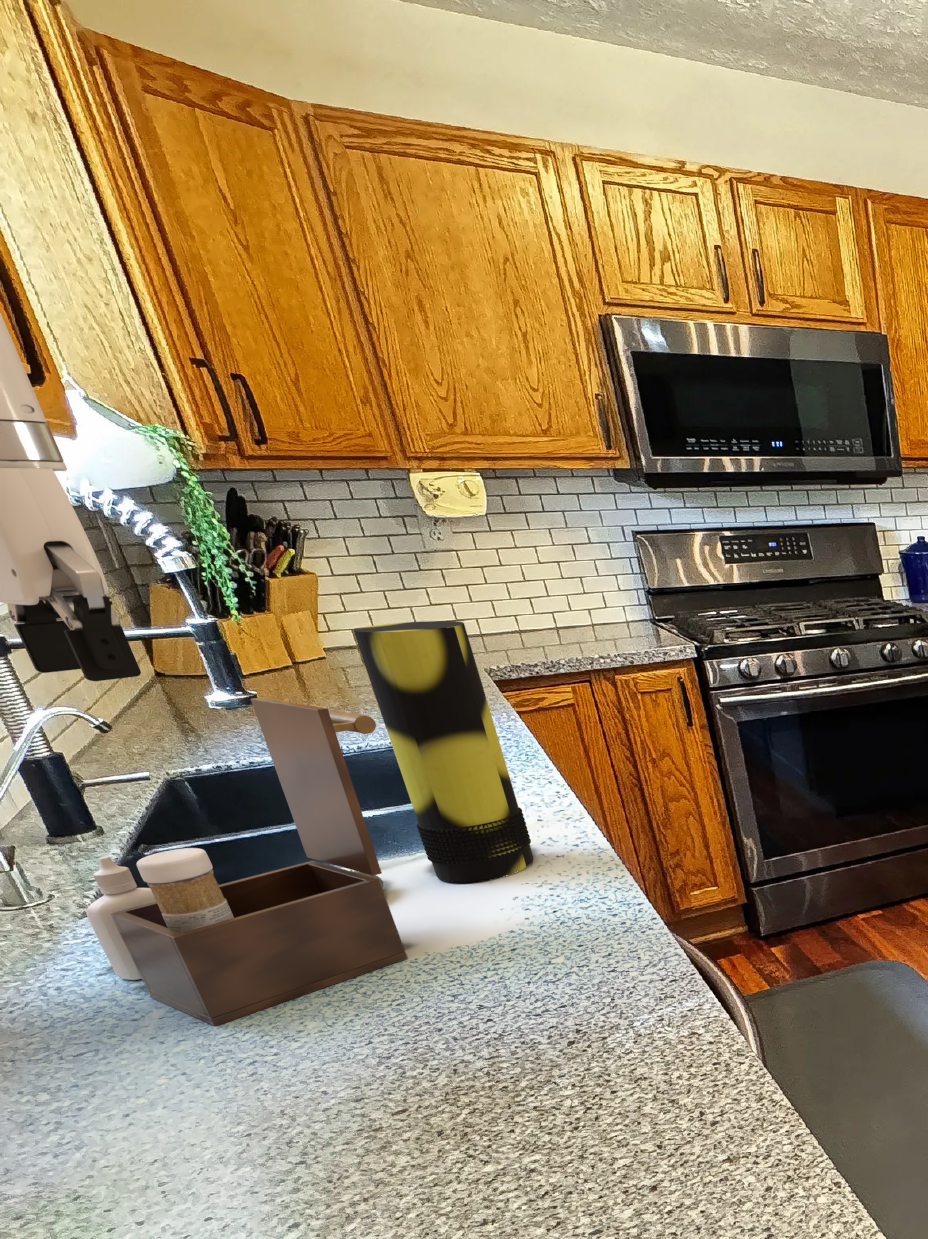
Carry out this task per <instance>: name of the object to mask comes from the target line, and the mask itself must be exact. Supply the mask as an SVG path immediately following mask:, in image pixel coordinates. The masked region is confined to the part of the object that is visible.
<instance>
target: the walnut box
mask: <svg viewBox="0 0 928 1239" xmlns="http://www.w3.org/2000/svg"><path fill="white" fill-rule="evenodd" d="M352 871H353V870H352ZM352 871H351V870H349V869H346V868H342V867H339V866H335V865H331V864H328V863H324V862H321V861H317V860H309V861H306V862H302V863H298V864H294V865H291V866H290V865H289V866H286V867H283V868H278V869H274V870H270V871H267V872H263V873H260V874H256V875H252V876H248V877H244V878H240V879H236V880H233V881H229V882H225V883H221V884H218V886H219V888H220V890H221V892H222V894H223V897H224V898H225V899H226V901H227V903H228V905H229V907H230V910H231V912H232V914H233V916H234V918H233V919H229V920H226V921H222V922H219V923H215V924H212V925H208V926H205V927H201V928H198V929H194V930H191V931H187V932H184V933H179V932H177V931H174V930H171V929H169V928H168V927H167V925H166V923H165V920H164V918H163V916H162V912H161V911H160V908H159V906H158V904H157V902H152V903H148V904H144V905H140V906H137V907H133V908H129V909H125V910H121V911H117V912H114V913H110V914H111V917H112V919H113V921H114V923H115V925H116V927H117V929H118V931H119V933H120V935H121V937H122V939H123V941H124V943H125V945H126V947H127V949H128V951H129V953H130V955H131V957H132V959H133V961H134V963H135V965H136V968H137V970H138V972H139V974H140V976H141V978H142V979H141V981H142V982H143V985H144V986H145V988H146V990H147V991H148V994H149V996H150V998H151V999H153V1000H156V1001H158V1002H160V1003H162V1004H164V1005H166V1006H169V1007H171V1008H173V1009H175V1010H178V1011H180V1012H182V1013H184V1014H187V1015H189V1016H192V1017H194V1018H196V1019H198V1020H200V1021H203V1022H204V1023H206V1024H209V1025H211V1026H214V1027H217V1026H219V1025H222V1024H223V1025H224V1024H225V1023H228V1022H231V1021H234V1020H237V1019H239V1018H243V1017H246V1016H248V1015H252V1014H253V1013H256V1012H257V1013H258V1012H260V1011H262V1010H265V1009H269V1008H270V1007H273V1006H276V1005H279V1004H282V1003H285V1002H288V1001H291V1000H293V999H296V998H299V997H302V996H306V995H308V994H311V993H313V992H316V991H320V990H322V989H325V988H327V987H331V986H333V985H336V984H340V983H341V982H345V981H347V980H351V979H353V978H356V977H359V976H362V975H364V974H368V973H370V972H374V971H376V970H379V969H381V968H384V967H387V966H391V965H393V964H396V963H398V962H402V961H405V960H407V959H409V958H408V954H407V953H406V949H405V947H404V944H403V940H402V939H401V936H400V932H399V930H398V928H397V925H396V922H395V919H394V917H393V913H392V911H391V909H390V906H389V903H388V900H387V897H386V896H385V892H384V890H383V888H382V887H381V884H380V881H379V879H376V878H373V877H369V876H366V875H362V874H359V873H355V872H356V871H354V872H352Z"/></svg>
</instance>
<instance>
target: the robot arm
mask: <svg viewBox="0 0 928 1239" xmlns="http://www.w3.org/2000/svg"><path fill="white" fill-rule="evenodd" d="M3 317H4V316H3V315H2V313H1V312H0V603H2V604H6V605H7V606H6V607H7V611H8V614H9V617H10V619H11V620H12V622H13V623H14V624H13V625H14V628H15V630H16V632H17V634H18V636H19V639H20V640H21V642H22V644H23V647H24V649H25V651H26V652H27V656H28V657H29V659H30V662H31V664H32V666H33V668H34V669H35V671H37V672H38V673H43V674H47V673H57V672H66V671H67V672H68V671H76V670H81V672H82V675H83V676H84V678H85V679H86V680H87V681H90V682H102V681H111V680H118V679H127V678H128V679H129V678H134V677H136V678H137V677H139V676H141V674H142V670H141V667H140V666H139V664H138V662H137V659H136V657H135V654H134V652H133V649H132V647H131V645H130V643H129V641H128V638H127V636H126V634H125V631H124V629H123V626H122V624H121V620H120V618H119V616H118V614H117V613H116V612H115V610H114V609H113V608H112V605H113V601H112V600H110V599H111V598H110V597H109V596H108V594H109V587H108V583H107V580H106V576H105V574H104V571H103V570H102V569H103V568H102V567H101V565H100V562H99V560H98V557H97V555H96V552H95V550H94V548H93V546H92V543H91V542H90V540H89V537H88V535H87V533H86V531H85V529H84V527H83V525H82V523H81V521H80V519H79V517H78V515H77V512H76V510H75V508H74V506H73V505H72V502H71V501H70V499H69V496H68V494H67V493H66V491H65V490H64V487H63V486H62V483H61V481H60V480H59V478H58V477H57V474H56V472H55V471H64V470H66V471H67V470H68V467H67V465H66V463H65V462H64V461H65V460H64V458H63V456H62V454H61V451H60V449H59V447H58V444H57V442H56V439H55V437H54V435H53V432H52V430H51V428H50V425H49V424H48V422H47V419H46V416H45V414H44V412H43V410H42V407H41V405H40V402H39V400H38V398H37V396H36V393H35V390H34V388H33V386H32V383H31V381H30V379H29V377H28V376H29V375H28V374H27V371H26V370H25V366H24V364H23V362H22V360H21V357H20V355H19V353H18V350H17V348H16V346H15V343H14V341H13V339H12V335H11V334H10V332H9V329H8V327H7V325H6V322H5V320H4V318H3ZM54 470H55V471H54ZM71 605H73V609H72V607H71Z"/></svg>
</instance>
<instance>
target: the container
mask: <svg viewBox="0 0 928 1239" xmlns="http://www.w3.org/2000/svg"><path fill="white" fill-rule="evenodd" d="M352 633H353V634H354V635H353V636H354V637H355V640H356V644H357V646H358V649H359V652H360V656H361V658H362V661H363V664H364V667H365V670H366V673H367V676H368V679H369V682H370V685H371V687H372V691H373V694H374V696H375V700H376V703H377V705H378V708H379V712H380V714H381V717H382V720H383V723H384V726H385V730H386V732H387V734H388V737H389V738H388V739H389V740H390V743H391V747H392V749H393V753H394V755H395V758H396V762H397V764H398V768H399V770H400V773H401V776H402V779H403V782H404V785H405V788H406V792H407V794H408V797H409V800H410V804H411V805H412V809H413V812H414V814H415V818H416V820H417V824H416V828H417V830H418V832H417V833H418V834H419V837H420V841H421V842H422V846H423V849H424V851H425V855H426V856H427V857H426V858H427V860H428V861H429V862H431V865H432V867H433V871H434V873H435V875H436V877H437V879H438V880H440V881H443V882H446V883H450V884H451V883H452V884H469V883H470V884H471V883H479V882H487V881H491V880H490V879H492V880H497V879H501V878H504V877H503V876H505V877H507V876H506V875H508V876H512V875H514V873H515V872H517V871H519V872H521V871H523V870H522V869H524V868H526V867H527V868H529V867H530V866H531V865H532V864H533V863H534V859H535V858H534V855H533V851H532V848H531V844H532V839H531V838H530V837H531V836H530V834H529V830H528V826H527V823H526V821H525V817H524V813H523V809H522V808H521V807H519V803H518V800H517V797H516V794H515V790H514V787H513V784H512V781H511V776H510V773H509V771H508V767H507V764H506V759H505V756H504V753H503V750H502V747H501V744H500V740H499V736H498V733H497V730H496V725H495V723H494V720H493V716H492V713H491V709H490V706H489V703H488V700H487V696H486V693H485V689H484V686H483V683H482V680H481V676H480V672H479V669H478V665H477V663H476V659H475V655H474V652H473V648H472V645H471V642H470V639H469V635H468V632H467V629H466V625H465V623H464V622H463V621H457V620H432V621H431V620H428V621H423V620H421V621H405V622H396V623H394V622H393V623H383V624H374V625H368V626H362V627H361V626H360V627H356V628H354V629H353V630H352ZM530 864H531V865H530ZM529 865H530V866H529ZM528 866H529V867H528ZM527 868H526V869H527ZM524 870H525V869H524ZM517 873H518V872H517ZM515 874H516V873H515ZM500 877H501V878H500Z"/></svg>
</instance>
